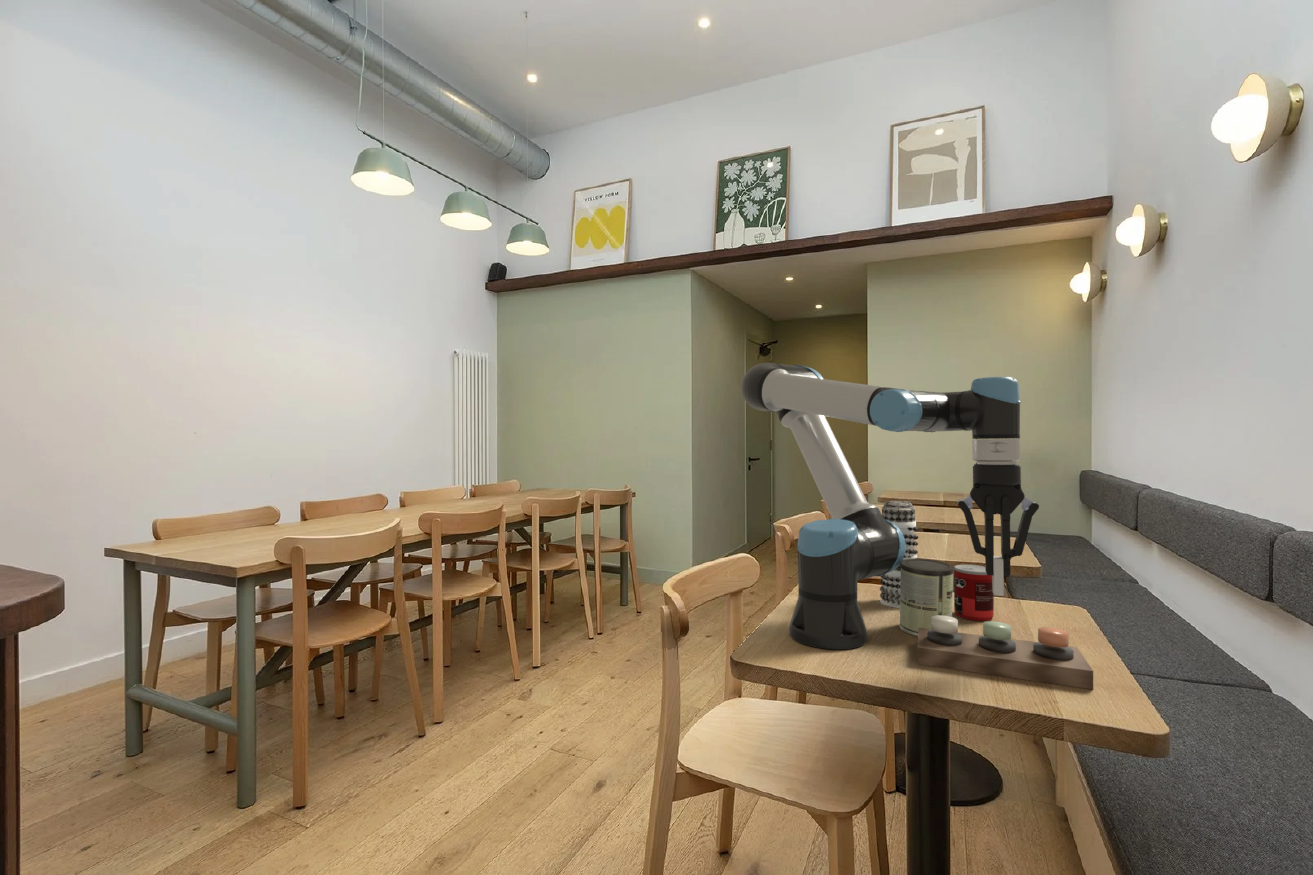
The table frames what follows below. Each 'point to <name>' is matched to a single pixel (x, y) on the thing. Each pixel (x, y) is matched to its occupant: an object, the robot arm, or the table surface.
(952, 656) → the button panel
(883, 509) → the decorative candle
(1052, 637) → the button terracotta
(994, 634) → the button green
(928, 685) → the table surface
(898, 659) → the table surface
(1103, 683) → the table surface
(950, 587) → the coffee can
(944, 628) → the button cream
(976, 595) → the canned food
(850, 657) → the table surface
